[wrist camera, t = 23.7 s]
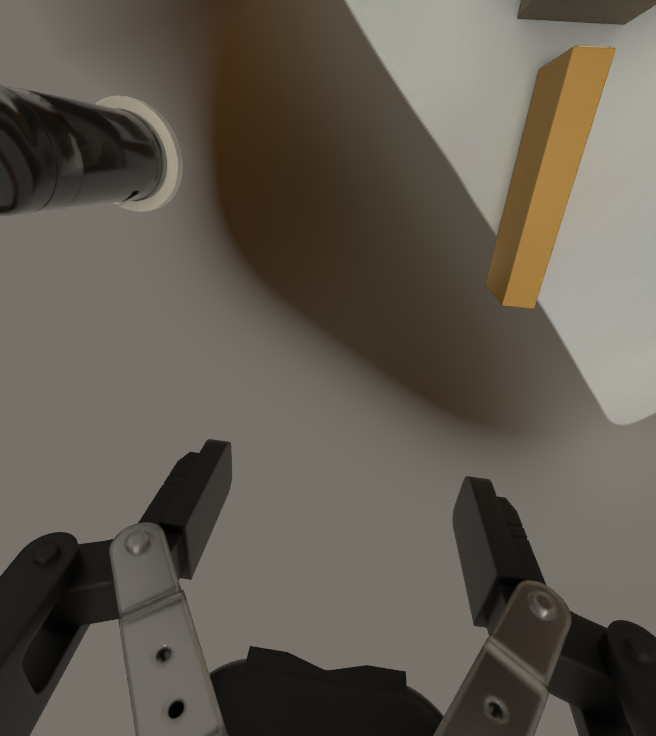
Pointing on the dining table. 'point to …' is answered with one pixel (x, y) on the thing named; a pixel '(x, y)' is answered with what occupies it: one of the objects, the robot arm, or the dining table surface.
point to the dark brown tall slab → (584, 10)
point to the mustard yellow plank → (546, 170)
